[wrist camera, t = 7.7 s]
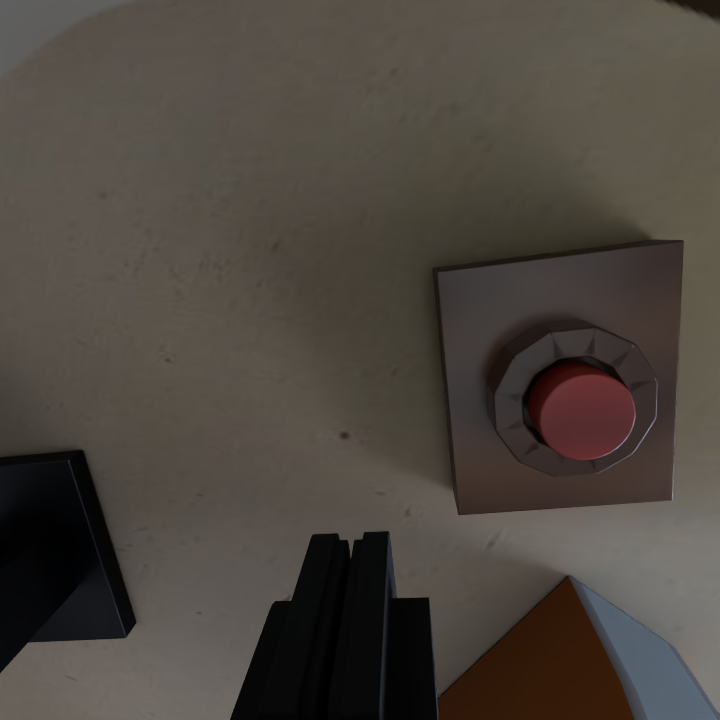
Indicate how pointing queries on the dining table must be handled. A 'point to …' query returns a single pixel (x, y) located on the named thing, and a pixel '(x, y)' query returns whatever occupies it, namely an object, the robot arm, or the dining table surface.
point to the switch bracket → (56, 556)
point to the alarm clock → (578, 669)
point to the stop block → (549, 349)
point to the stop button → (581, 410)
